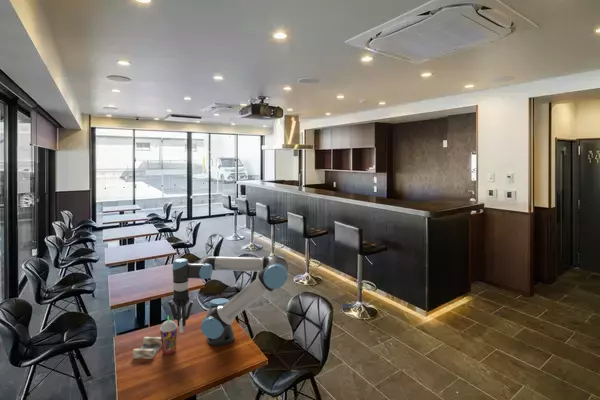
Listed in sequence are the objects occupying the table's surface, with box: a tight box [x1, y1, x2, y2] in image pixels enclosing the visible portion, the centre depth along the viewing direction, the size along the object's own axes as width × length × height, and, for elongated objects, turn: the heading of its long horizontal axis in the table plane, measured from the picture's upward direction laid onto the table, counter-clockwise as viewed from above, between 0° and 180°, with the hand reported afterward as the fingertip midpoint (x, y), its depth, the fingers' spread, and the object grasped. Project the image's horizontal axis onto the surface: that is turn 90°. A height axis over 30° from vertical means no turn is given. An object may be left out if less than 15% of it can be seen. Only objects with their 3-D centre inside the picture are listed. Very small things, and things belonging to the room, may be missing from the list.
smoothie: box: [159, 315, 178, 355], centre depth 177 cm, size 8×8×20 cm
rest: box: [132, 336, 162, 360], centre depth 178 cm, size 10×13×4 cm
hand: (181, 331), depth 176 cm, fingers closed
